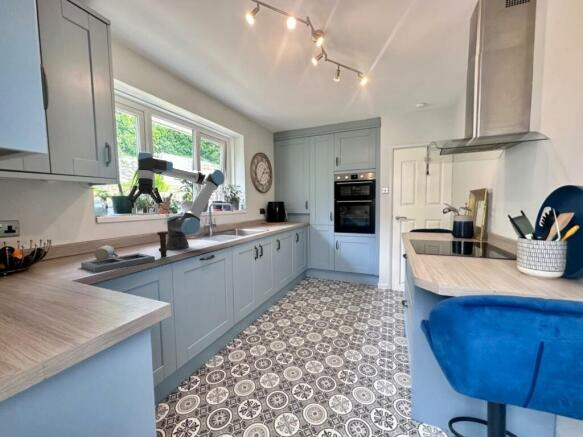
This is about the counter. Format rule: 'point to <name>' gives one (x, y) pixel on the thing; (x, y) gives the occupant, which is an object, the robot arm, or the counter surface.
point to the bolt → (163, 243)
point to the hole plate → (116, 262)
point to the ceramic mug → (105, 252)
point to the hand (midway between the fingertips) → (145, 214)
